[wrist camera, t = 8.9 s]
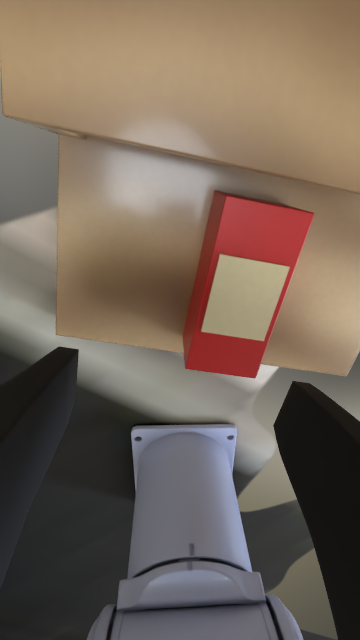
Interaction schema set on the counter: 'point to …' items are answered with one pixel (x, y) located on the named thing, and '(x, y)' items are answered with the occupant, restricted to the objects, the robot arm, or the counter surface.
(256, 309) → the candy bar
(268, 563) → the counter surface
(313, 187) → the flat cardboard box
